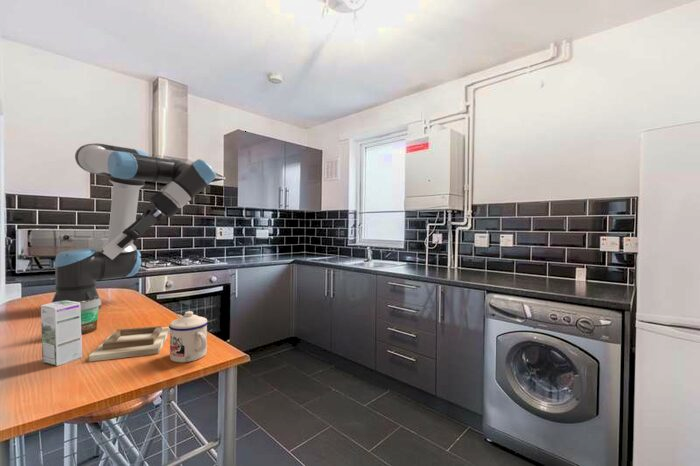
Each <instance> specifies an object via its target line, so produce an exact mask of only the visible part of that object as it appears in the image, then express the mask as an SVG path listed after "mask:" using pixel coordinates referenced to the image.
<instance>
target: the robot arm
mask: <svg viewBox="0 0 700 466" xmlns="http://www.w3.org/2000/svg"><path fill="white" fill-rule="evenodd" d="M74 159H75V163H76V164H77V166H78V167H79V168H81V169H82V170H83V171H85V172H87V173H90V174H94V175H97V176H104V177H109V178H108V181H109V182H110V184H112V185H113V186H112V193H111V196H112V197H111V203H110V215H109V225H108V233H107V241H106V243H104V244H103V245H102V246H101V250H98V251H97V250H96V248H93V247H85V248H77V249H70V250H66V251H61V252H59V253H58V254H56V255H55V262H54V269H55V293H54V296H53V298H52V300H51V303H53V302H57V301H65V300H67V301H74V302H78V301H86V300H91V299H94V296H98V297H99V299H100V300H101V297H100V295H99V293H98V291H97V288H96V287H97V286H96V283H97V281H104V280H113V279H114V280H115V279H125V278H127V277H128V278H129V277H132V276H134V275H136V274H137V273H138V272H139V271H140V268H141V266H142V265H141V264H142V258H141V257H142V254H141V252H140V250H138V249H137V246H136V245H135V244H134V241H137V240H138V239H140V237H142V235H143V234H144V233H146V232H147V230H148V229H150V228H151V227H152V226H154V224H156V223H158V222H159V221H160V220H161V217H163V216H165V217H166V218H169V219H170V218H173V217H174V216H175V214H177V213H178V212H179V210H180V209H183V207H184V206H189V205H190V202H191V200H193V199H194V198H195V197H197V195H198V194H199V193H201V192H202V191H203V190H205V189H206V188H207V187H208V186H209V185H210V184H211V183H212V182H213V181H214V180H215V178H216V171H215V170H214V169H213V167H212V166H211V165H210V164H209V163H208V162H207V161H205V160H204V159H201V158H200V159H199V158H198V159H196V160H194V161H193V162H192V163H186V162H183V161H182V160H179V159H173V158H161V157H156V156H149V154H147V152H145V151H142V150H139V149H135V148H130V147H129V148H128V147H122V146H116V145H111V144H110V145H109V144H107V143H105V144H104V143H97V142H96V143H88V144H83V145H82V146H80V147H78V149H77V150H76V152H75V154H74ZM145 182H153V183H161V184H166V185H164V186H163V187H162V188H160V191H157V192H156V193H155V194H153V195H152V196H151V197H150V198H149V199H148V200H149V204H151V205H152V206H153V208H152V209H150V208H149V209H148V208H147V209H146V210H145V211H143V213H142V214H141V215H140V216H138V218H137V212H138V203H139V195H140V189H142V188H143V187H144V186H145V184H146V183H145ZM101 308H102V304H101V305H100V306H99V309H101Z"/></svg>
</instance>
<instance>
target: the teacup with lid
mask: <svg viewBox="0 0 700 466" xmlns="http://www.w3.org/2000/svg"><path fill="white" fill-rule="evenodd" d="M208 323H209V322H208V318H206V317H204V316H199V315H197V314H194V311H192V310H191V311H190V310H189V311H185V312H184V315H182V316H180V317H178V318H176V319H174V320H172V321H171V322H170V323H169V325H168V327H169V328H170V333H169V358H170V360H171V361H172V362H175V363H188V362H194V361H197V360H200V359H202V358H204V357H205V355H207V352H208V350H207V349H208V341H207V340H208Z"/></svg>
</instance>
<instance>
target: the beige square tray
mask: <svg viewBox="0 0 700 466" xmlns="http://www.w3.org/2000/svg"><path fill="white" fill-rule="evenodd" d="M168 336H170V328H169V326H165V327H164V326H163V327H162V325H157V326H145V327H136V328H134V327H133V328H121V329H116V330H115V331H113V332H111V334H110V335H108V337H107V338H106V339H105V340H103V342H102V343H100V345H98V346H97V348H96V349H95V350H94V351H92V352H91V353H90V354H89V355H88V362H97V361H106V360H107V361H108V360H115V359H124V358H133V357H142V356H151V355H158V354H159V353H160V352H161V349H162V348H163V346H164V344H165V342H166V340H167V338H168Z"/></svg>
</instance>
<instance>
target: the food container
mask: <svg viewBox="0 0 700 466" xmlns="http://www.w3.org/2000/svg"><path fill="white" fill-rule="evenodd" d="M99 297H100V296H99ZM99 297H98V296H94V299H91V300H86V301H78V302H80V305H81V336H83V335H84V336H85V335H87V334H88V335H89V334H90V333H93V332H95V331H96V330H97V327H98V320H99V319H98V317H99V310H100V308H99V306H100V305H101V306H102V300H101V298H100V299H99Z"/></svg>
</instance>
